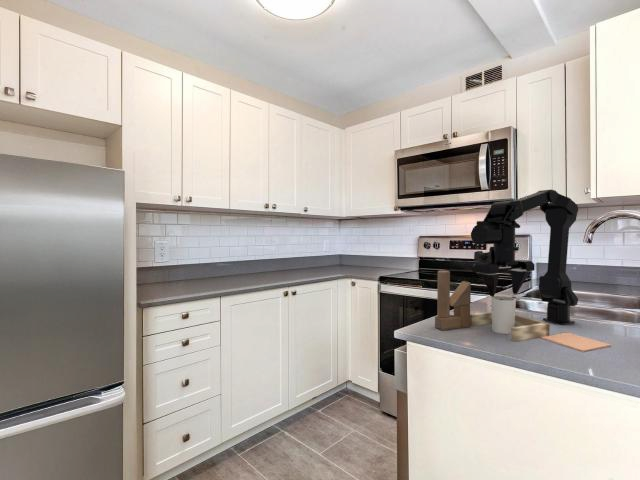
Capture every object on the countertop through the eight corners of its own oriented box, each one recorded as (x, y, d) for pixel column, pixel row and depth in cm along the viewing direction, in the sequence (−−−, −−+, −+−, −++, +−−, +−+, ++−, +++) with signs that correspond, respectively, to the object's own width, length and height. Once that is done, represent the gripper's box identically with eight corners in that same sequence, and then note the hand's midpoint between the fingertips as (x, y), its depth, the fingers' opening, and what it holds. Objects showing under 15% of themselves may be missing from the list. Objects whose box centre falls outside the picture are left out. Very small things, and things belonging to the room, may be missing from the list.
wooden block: (470, 327, 106) (471, 270, 105) (442, 330, 102) (442, 272, 102) (462, 324, 109) (462, 269, 109) (434, 327, 106) (434, 270, 105)
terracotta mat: (567, 333, 98) (567, 332, 98) (611, 346, 88) (611, 344, 88) (540, 338, 95) (540, 337, 95) (582, 351, 84) (583, 350, 84)
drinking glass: (485, 329, 103) (486, 297, 103) (499, 326, 106) (500, 295, 106) (506, 335, 97) (506, 301, 97) (520, 332, 100) (521, 299, 100)
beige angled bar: (501, 320, 112) (501, 310, 112) (549, 335, 97) (549, 323, 97) (469, 325, 108) (469, 314, 108) (514, 341, 92) (514, 328, 92)
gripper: (504, 241, 111) (503, 288, 112) (459, 243, 105) (459, 292, 106) (536, 243, 101) (535, 294, 102) (488, 245, 95) (488, 299, 95)
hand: (503, 295), depth 101 cm, fingers open, 9 cm apart
